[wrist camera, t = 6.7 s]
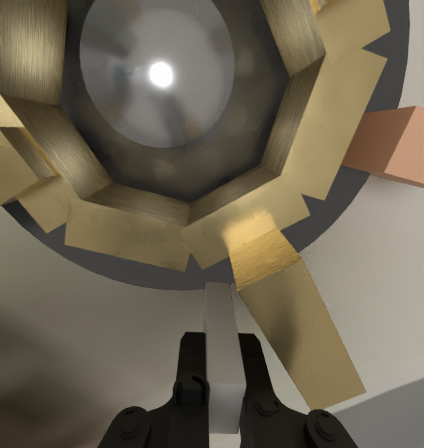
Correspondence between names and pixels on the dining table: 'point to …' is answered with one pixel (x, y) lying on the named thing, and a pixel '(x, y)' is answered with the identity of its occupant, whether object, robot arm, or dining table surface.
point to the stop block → (390, 145)
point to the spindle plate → (216, 146)
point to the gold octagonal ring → (219, 198)
